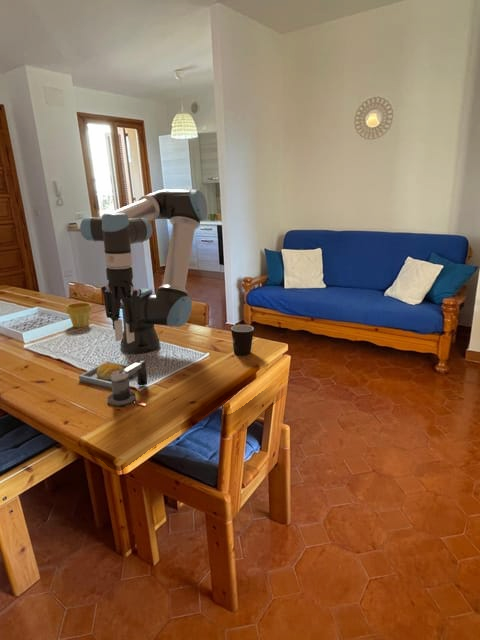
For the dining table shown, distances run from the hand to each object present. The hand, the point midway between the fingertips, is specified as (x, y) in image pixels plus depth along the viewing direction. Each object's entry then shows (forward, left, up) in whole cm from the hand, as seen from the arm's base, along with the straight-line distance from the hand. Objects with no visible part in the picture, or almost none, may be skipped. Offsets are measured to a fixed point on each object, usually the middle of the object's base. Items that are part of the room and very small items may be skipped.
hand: (125, 340), depth 130 cm
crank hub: (+8, -10, -15) cm, 19 cm away
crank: (+6, -6, -14) cm, 16 cm away
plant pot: (-59, +39, -15) cm, 72 cm away
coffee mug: (+22, +41, -15) cm, 49 cm away
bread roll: (-8, +1, -14) cm, 16 cm away
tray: (-9, +1, -15) cm, 17 cm away
